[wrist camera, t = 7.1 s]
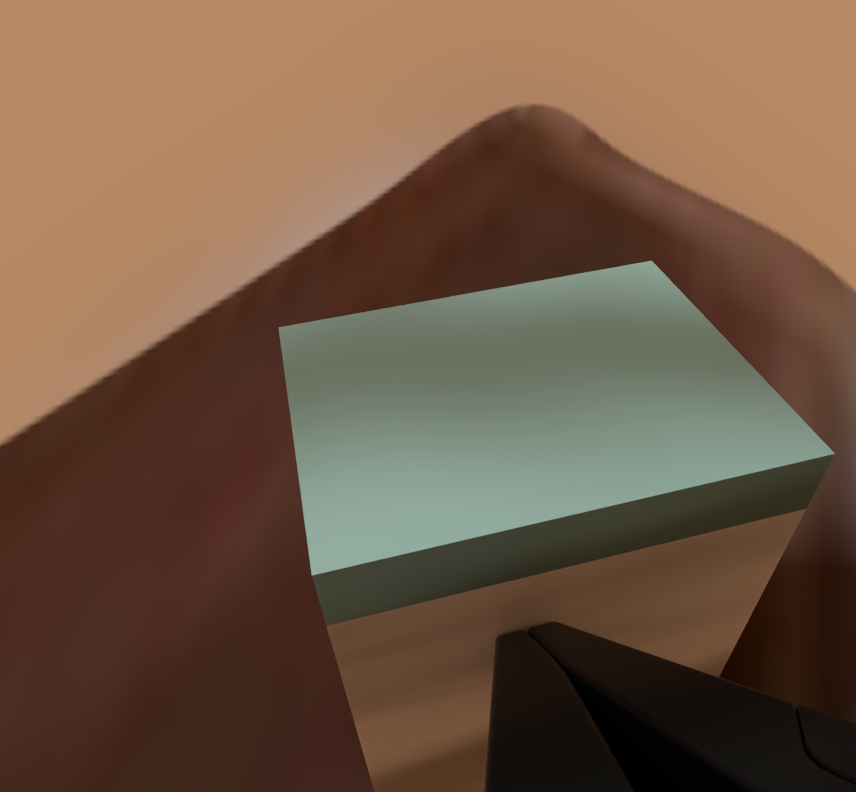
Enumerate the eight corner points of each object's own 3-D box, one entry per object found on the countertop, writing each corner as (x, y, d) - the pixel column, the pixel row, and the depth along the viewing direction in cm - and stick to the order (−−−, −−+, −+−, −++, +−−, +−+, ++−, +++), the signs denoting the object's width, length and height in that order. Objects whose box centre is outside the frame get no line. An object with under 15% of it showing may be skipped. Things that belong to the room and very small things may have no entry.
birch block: (678, 755, 14) (833, 453, 8) (389, 840, 13) (311, 575, 7) (589, 574, 17) (651, 260, 11) (352, 633, 16) (278, 328, 10)
